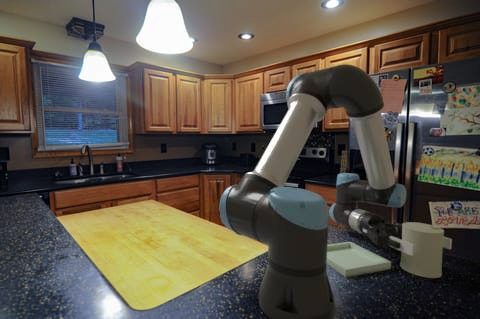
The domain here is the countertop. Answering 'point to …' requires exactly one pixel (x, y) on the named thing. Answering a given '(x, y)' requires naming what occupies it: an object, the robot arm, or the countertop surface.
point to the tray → (354, 260)
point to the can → (423, 249)
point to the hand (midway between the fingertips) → (432, 247)
